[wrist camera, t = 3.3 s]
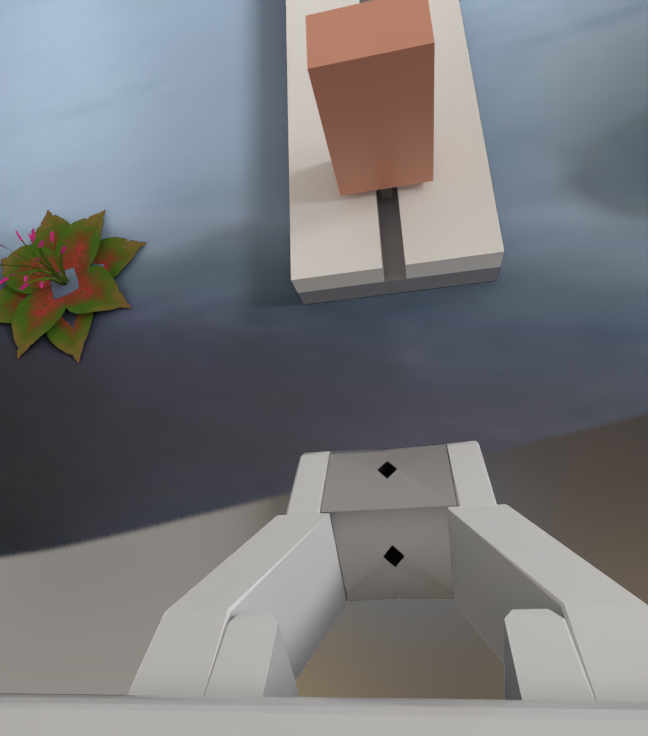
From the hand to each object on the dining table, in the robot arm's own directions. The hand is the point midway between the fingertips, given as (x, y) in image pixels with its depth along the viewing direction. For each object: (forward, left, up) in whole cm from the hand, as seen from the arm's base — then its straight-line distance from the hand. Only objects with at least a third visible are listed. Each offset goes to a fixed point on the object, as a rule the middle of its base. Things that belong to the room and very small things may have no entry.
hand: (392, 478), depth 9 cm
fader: (0, -18, -15) cm, 24 cm away
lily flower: (+22, -16, -18) cm, 33 cm away
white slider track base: (0, -28, -17) cm, 33 cm away
